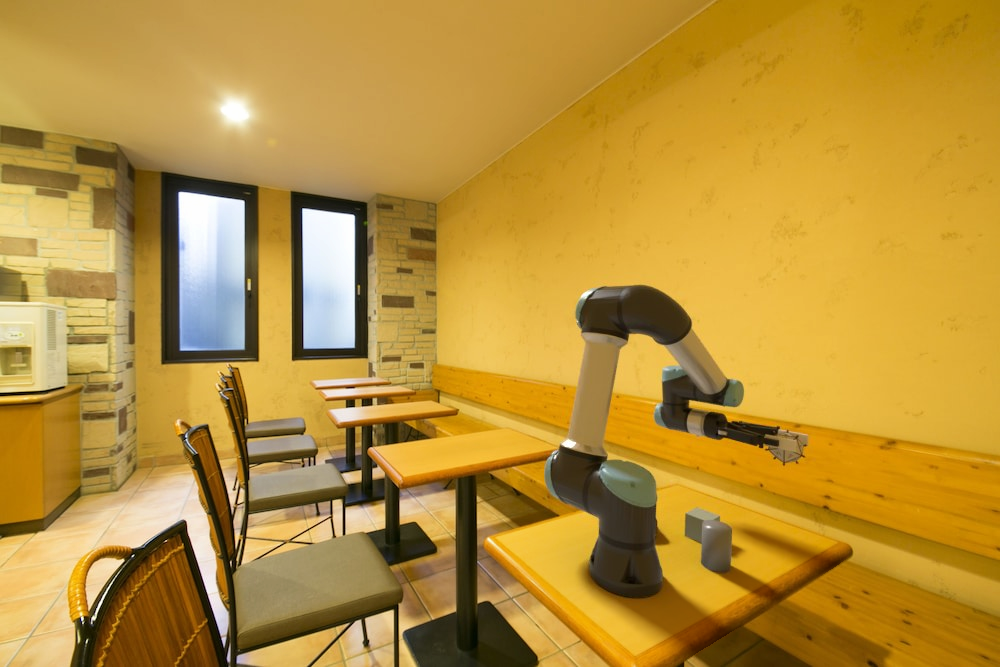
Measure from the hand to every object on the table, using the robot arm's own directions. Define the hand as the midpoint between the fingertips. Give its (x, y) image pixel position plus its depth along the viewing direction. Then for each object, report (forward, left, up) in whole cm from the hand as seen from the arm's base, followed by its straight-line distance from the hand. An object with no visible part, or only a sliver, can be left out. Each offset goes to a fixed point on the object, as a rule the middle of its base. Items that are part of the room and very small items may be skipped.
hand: (802, 443), depth 103 cm
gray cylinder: (-9, -24, -26) cm, 36 cm away
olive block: (-17, -14, -26) cm, 34 cm away
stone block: (-30, -22, -26) cm, 46 cm away
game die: (-4, +1, -6) cm, 7 cm away
